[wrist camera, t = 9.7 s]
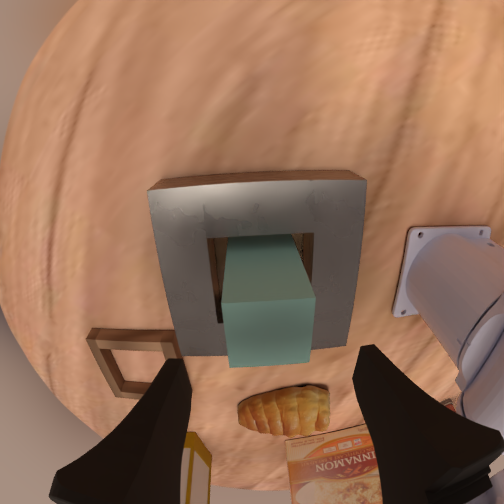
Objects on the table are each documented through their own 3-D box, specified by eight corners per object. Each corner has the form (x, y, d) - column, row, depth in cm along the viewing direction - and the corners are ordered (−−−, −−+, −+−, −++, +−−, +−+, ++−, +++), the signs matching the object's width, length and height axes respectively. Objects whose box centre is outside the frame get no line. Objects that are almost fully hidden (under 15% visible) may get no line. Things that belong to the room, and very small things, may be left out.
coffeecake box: (396, 413, 31) (439, 537, 13) (386, 437, 34) (419, 544, 16) (283, 439, 31) (298, 578, 14) (287, 459, 34) (299, 576, 17)
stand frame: (175, 330, 23) (172, 342, 22) (192, 390, 26) (190, 402, 25) (91, 328, 23) (85, 339, 21) (119, 386, 26) (115, 397, 25)
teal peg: (289, 229, 20) (315, 297, 12) (288, 281, 21) (309, 362, 14) (228, 232, 20) (221, 303, 12) (233, 285, 21) (229, 367, 14)
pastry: (241, 422, 29) (241, 450, 26) (233, 387, 27) (232, 418, 23) (324, 413, 29) (330, 439, 26) (329, 376, 26) (337, 406, 23)
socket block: (349, 170, 18) (366, 180, 15) (335, 321, 23) (345, 345, 20) (161, 179, 18) (147, 190, 15) (187, 330, 23) (181, 356, 20)
